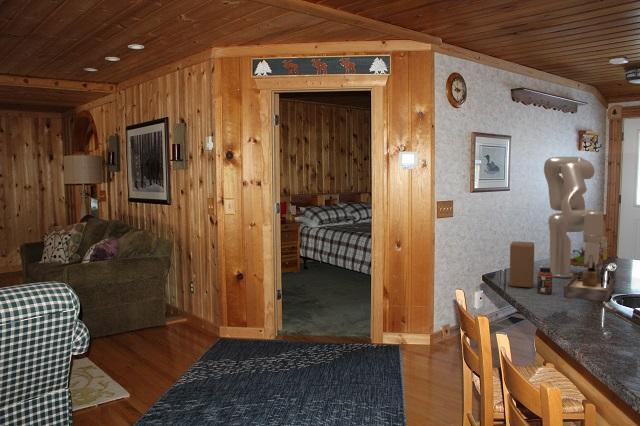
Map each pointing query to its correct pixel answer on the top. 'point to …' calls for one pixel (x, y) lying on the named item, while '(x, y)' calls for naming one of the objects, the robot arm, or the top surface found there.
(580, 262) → the plant
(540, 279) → the supplement bottle
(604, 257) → the candy box
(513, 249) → the wooden block
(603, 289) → the box
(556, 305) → the top surface
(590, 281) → the walnut block
